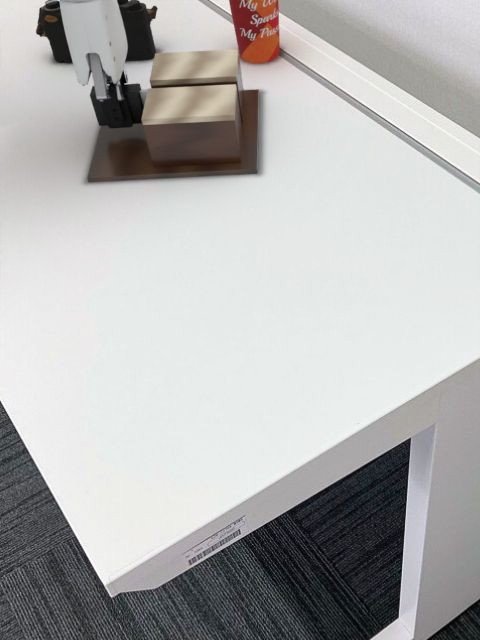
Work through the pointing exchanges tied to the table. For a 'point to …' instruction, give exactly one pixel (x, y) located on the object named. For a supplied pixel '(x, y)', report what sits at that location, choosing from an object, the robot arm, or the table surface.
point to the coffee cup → (256, 29)
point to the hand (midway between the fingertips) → (122, 119)
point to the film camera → (133, 20)
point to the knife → (134, 99)
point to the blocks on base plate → (185, 123)
